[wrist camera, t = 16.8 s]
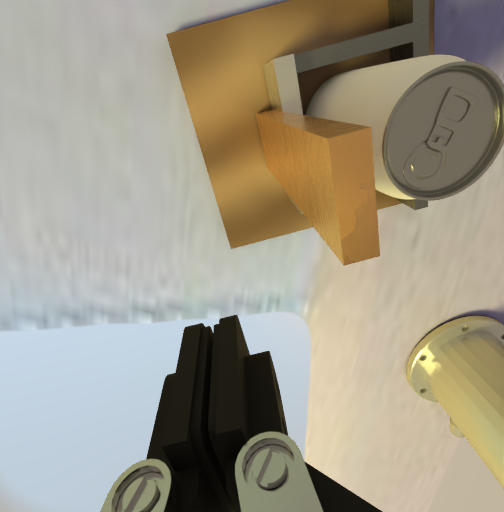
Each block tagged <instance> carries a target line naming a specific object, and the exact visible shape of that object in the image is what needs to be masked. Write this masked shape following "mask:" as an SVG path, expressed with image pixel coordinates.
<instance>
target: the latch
mask: <svg viewBox="0 0 504 512" xmlns="http://www.w3.org/2000/svg"><path fill="white" fill-rule="evenodd" d="M263 68H264V73H265V79H266V84H267V89H268V94H269V99H270V104H271V110H268V111H264V112H260V113H256V118H257V123H258V127H259V132H260V137H261V141H262V146H263V150H264V155H265V160H266V164H267V168H268V170H269V171H270V172H271V173H272V175H273V176H274V177H275V179H276V180H277V181H278V182H279V184H280V185H281V186H282V187H283V189H284V190H285V191H286V192H287V194H288V196H289V199H290V200H291V201H292V203H293V204H294V205H295V207H296V208H297V209H298V211H299V212H300V213H301V214H304V215H305V217H306V218H307V219H308V220H309V222H310V223H311V224H312V225H313V227H314V228H315V229H316V231H317V232H318V233H319V234H320V236H321V237H322V238H323V239H324V241H325V242H326V243H327V245H328V246H329V247H330V248H331V250H332V251H333V252H334V253H335V255H336V256H337V257H338V258H339V260H340V261H341V262H342V264H343V265H348V264H351V263H355V262H359V261H363V260H366V259H370V258H374V257H378V256H380V249H379V234H378V220H377V205H376V190H375V176H374V161H373V147H372V132H371V127H368V126H362V125H357V124H351V123H345V122H340V121H334V120H328V119H323V118H317V117H312V116H306V115H303V110H302V104H301V98H300V91H299V85H298V78H297V72H296V65H295V59H294V54H290V55H286V56H283V57H279V58H276V59H273V60H271V61H270V62H268V63H267V64H265V65H264V66H263Z"/></svg>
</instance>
